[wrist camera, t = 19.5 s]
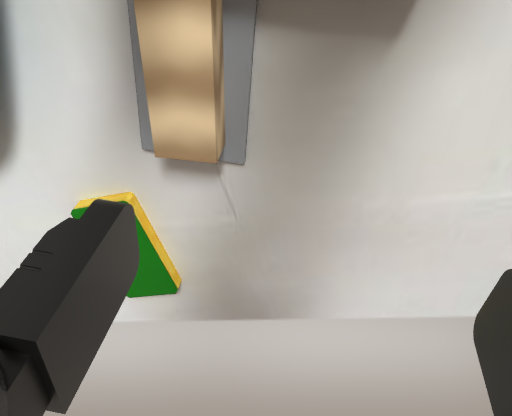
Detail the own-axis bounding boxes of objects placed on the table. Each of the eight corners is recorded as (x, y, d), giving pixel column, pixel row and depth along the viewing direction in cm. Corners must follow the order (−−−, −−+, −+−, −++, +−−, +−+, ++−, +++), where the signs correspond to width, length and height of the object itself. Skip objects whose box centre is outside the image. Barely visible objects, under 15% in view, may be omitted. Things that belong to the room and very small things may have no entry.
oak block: (148, -32, 32) (130, -23, 29) (221, -28, 31) (210, -18, 29) (167, 137, 41) (154, 156, 38) (225, 143, 40) (216, 163, 37)
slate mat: (124, -57, 32) (122, -56, 31) (259, -41, 31) (258, -40, 31) (143, 146, 42) (142, 148, 42) (245, 161, 41) (244, 164, 41)
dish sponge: (134, 189, 46) (125, 202, 44) (183, 279, 54) (177, 294, 52) (79, 198, 48) (68, 212, 47) (134, 284, 56) (127, 298, 54)
